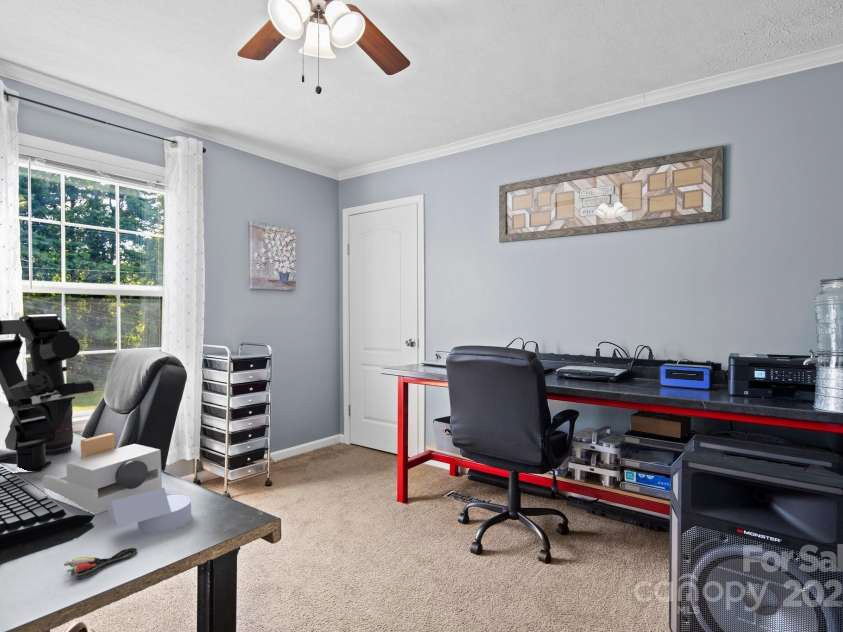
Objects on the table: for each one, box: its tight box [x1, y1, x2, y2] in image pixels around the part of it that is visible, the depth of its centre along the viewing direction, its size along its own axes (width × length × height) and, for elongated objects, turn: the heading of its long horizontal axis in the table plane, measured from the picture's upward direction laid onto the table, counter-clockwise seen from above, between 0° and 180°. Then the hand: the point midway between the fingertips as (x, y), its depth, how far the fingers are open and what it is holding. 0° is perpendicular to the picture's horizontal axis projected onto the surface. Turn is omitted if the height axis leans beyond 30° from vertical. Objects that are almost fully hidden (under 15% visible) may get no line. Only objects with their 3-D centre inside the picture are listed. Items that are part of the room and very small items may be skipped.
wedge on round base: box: [107, 487, 192, 534], centre depth 89 cm, size 9×7×13 cm
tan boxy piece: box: [80, 432, 117, 489], centre depth 104 cm, size 8×12×9 cm
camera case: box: [43, 443, 163, 516], centre depth 104 cm, size 22×14×9 cm, turn 61°
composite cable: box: [63, 547, 138, 581], centre depth 76 cm, size 10×5×2 cm, turn 130°
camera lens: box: [45, 402, 74, 457], centre depth 134 cm, size 8×8×15 cm
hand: (56, 429), depth 114 cm, fingers closed
